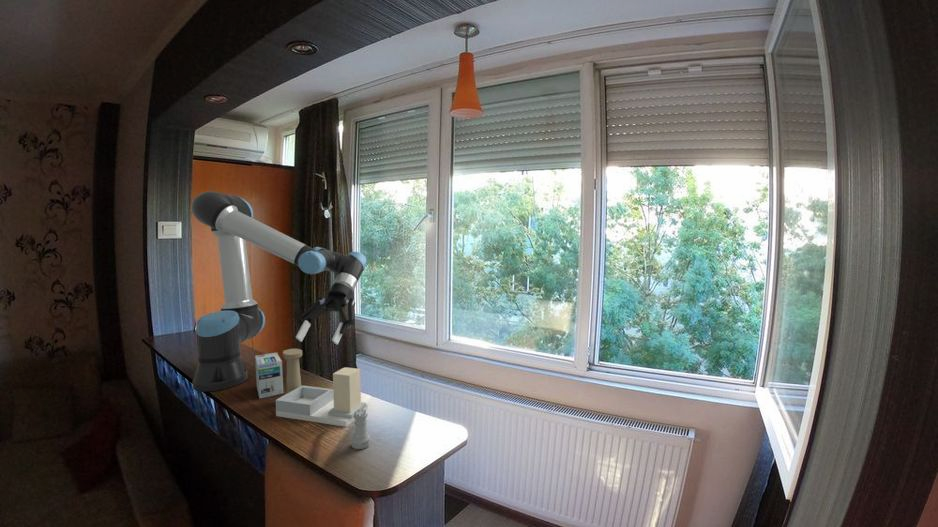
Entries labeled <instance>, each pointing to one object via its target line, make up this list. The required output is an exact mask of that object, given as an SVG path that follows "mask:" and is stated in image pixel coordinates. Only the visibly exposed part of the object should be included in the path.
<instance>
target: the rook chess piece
mask: <svg viewBox="0 0 938 527" xmlns="http://www.w3.org/2000/svg"><path fill="white" fill-rule="evenodd" d="M368 414H369V413H367V410H364V409H362V411H360V409H359V410H358V412H357V411H355V414H354V416H353V418H354V419H355V420H354V426H355V427H354V428H355V430H354V433H353V436H352V437H351V444H350V446H351V447H352V448H353V449H354V450H364V449H366V448H367V447H369V446H370V444H371V443H372V441H371V435H370V433H369V432H368V428H367V422H368V420H367V417H368Z"/></svg>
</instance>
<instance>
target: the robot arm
mask: <svg viewBox="0 0 938 527" xmlns="http://www.w3.org/2000/svg"><path fill="white" fill-rule="evenodd" d="M191 212H192V215H193V216H194V218H195V219H196V220H197V221H198V222H200V223H201V224H203V225H205V226H208V227H209V228H210V231H211V234H213V235H214V236H215V237H216V238H217V247H218V254H219V255H218V256H219V262H220V263H219V264H220V271H221V278H222V288H223V297H224V303H223V304H222V306H220V311H219V310H218V311H214V312H209V313H207V314H204V315H202V316H200V317H199V318H198V319H197V321H196V328H195V333H196V346H197V366H196V370H195V373H194V376H193V379H192V390H194V391H196V392H203V393H204V392H206V393H207V392H214V391H215V392H216V391H222V390H226V389H229V388H234V387H236V386H239V385H241V384H242V383H244V382H245V381H247V379H248V370H247V368H246V366H245V363H244V361H243V359H242V356H241V344H242V343H244V342H246V341H247V340H251V339H252V338H254V337H256V336H257V335H258V334H259V333H261V332H262V330H263V328H265V324H266V317H265V313H264V312H263V311H262V310H261V309H260V308H259V304H258V302H257V301H256V300H254V298H253V293H252V284H251V283H252V282H251V274H250V267H249V266H250V265H249V258H248V250H247V249H248V248H247V242H248V243H250V244H251V245H253V246H256V247H258V248H260V249H262V250H263V251H266V252H268V253H270V254H272V255H274V256H276V257H278V258H281V259H282V260H285V261H287V262H289V263H292V264H294V265H296V266H297V267H299V269H300V270H301V271H302V272H303V273H305V274H307V275H316V274H319V273H322V272H325V271H327V272H330V273H334V274H337V275H336V278H335V279H334V281H333V284H332V285H331V287H330V289H329V291H328V295H327V297H326V298H323V297H322V296H319V297H317V299H316V301H315V302H313V303H312V305H310V307H308V308H307V309H306V310H305V311H304V312H303V313H301V314H300V315H299V317H298V318H299V319H300V320H301V321H302V322H301V324H300V326H299V328H298V332H297V334H296V336H295V338H296V340H298V341H299V342H301V343H302V342H303V340H304V339H305V336H306V335H307V333H308V331H309V329H310V327H311V325H312V322H313V321H315V320H316V319H318V318H319V317H321V316H322V315H324V314H325V313H328V312H335V313H336V312H339V315H340V317H341V320H342V322H339V324H338V326H337V328H336V331H335V332H334V334H333V337H332V339H331V341H332V342H333V343H334V344H335V345H339V343H340V340H341V339H342V336H343V335H345V334H346V332H347V329H348V327H350V326H354V325H356V315H355V305H356V302H355V300H354V299H353V297H352V295H353V292H354V291H355V288H356V287H357V284H358V282H359V280H360V278H361V276H362V274H363V272H364V271H365V267H366V264H367V262H368V261H367V258H366V256H365V254H363V253H361V252H359V251H351V252H349V253H348V254H343V253H339V252H336V251H333V250H329V249H327V248H325V247H320V246H316V247H315V246H314V247H311V246H308V245H307V244H305V243H303V242H301V241H300V240H298V239H294V238H293V237H290V236H289V235H286V234H285V233H283V232H281V231H279V230H277V229H275V228H273V227H271V226H269V225H267V224H265V223H264V222H262V221H259V220H257V219H255V218H254V211H253V208H252V206H251V204H250V203H249V202H248V201H246V199H244V198H242V197H240V196H237V195H234V194H227V193H222V192H219V191H212V190H211V191H210V190H208V191H204V192H201V193H199V194H198V195H196V196H195V197H194V198H193V199H192V202H191ZM346 306H347V313H348V314H347V313H346V311H345V307H346ZM347 315H348V317H347Z"/></svg>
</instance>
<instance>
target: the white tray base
mask: <svg viewBox="0 0 938 527" xmlns="http://www.w3.org/2000/svg"><path fill="white" fill-rule="evenodd" d="M332 383H333V384H332V386H333V387H332V388H325V387H316V386H309V385H301V386H300V387H298V388H296V389H295V390H293V391H291V392H289V393H287V392H286V394H284V395H282V396H280V397H279V398H277V399H275V416H276V417H280V418H286V419H292V420H301V421H307V422H311V423H312V422H313V423H317V424H318V423H320V424H324V425H325V424H326V425H333V426H338V427H344V428H345V427H348V426H349V425H351V424H352V423H353V422H355V419H354V418H353V416H354V414H355V411H357V412H358V410H359V409H360V411H362V409H364V410H366V411H367V410H368V403H366V402H362V399H361V398H362V397H361V396H362V395H361V394H362V391H361V388H362V387H361V369H360V368H354V367H346V366H345V367H343V368H340V369H338V370H337V371H335V372H333V374H332Z"/></svg>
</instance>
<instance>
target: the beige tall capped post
mask: <svg viewBox="0 0 938 527" xmlns="http://www.w3.org/2000/svg"><path fill="white" fill-rule="evenodd" d="M282 357H283V359H284V360H286V379H285V380H286V382H285V384H286V385H285V386H286V394H287V393H289V392H291V391H293V390H295V389H296V388H298V387H300V386H302V379H301V369H300V368H301V367H300V358H302V357H303V350H302V349H300V348H289V349H285V350H283V351H282Z"/></svg>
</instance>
